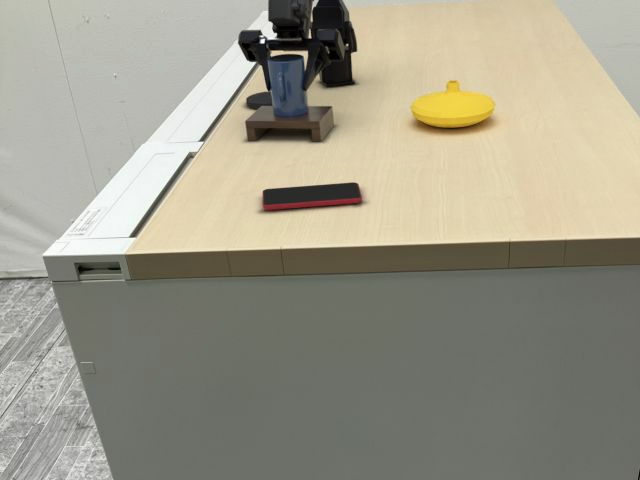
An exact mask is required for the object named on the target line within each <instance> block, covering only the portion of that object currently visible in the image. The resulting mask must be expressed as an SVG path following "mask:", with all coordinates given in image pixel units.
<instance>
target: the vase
mask: <svg viewBox="0 0 640 480" xmlns="http://www.w3.org/2000/svg"><path fill="white" fill-rule="evenodd" d="M495 107H496V103H495V101H494V100H493V99H492V97H490V96H489V95H487V94H484V93H481V92H476V91H469V90H460V80H456V79H453V80H447V81H446V90H441V91H437V92H432V93H427V94H424V95H421V96H420V97H417V98H416V99H414V101H413V102H412V104H411V105H410V112H411V113H412V114H411V115H412V117H414V118H415V120H418V121H420V122H422V123H424V124H426V125H429V126H432V127H436V128H464V127H469V126H472V125H476V124H479V123H480V122H482V121H484V120H486V119H487V118H489V117H490V116H492V115H493V113H494V111H495Z"/></svg>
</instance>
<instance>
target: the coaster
mask: <svg viewBox="0 0 640 480" xmlns="http://www.w3.org/2000/svg"><path fill="white" fill-rule="evenodd" d="M245 102H246V106H247V108H249V109H250V110H251V109H252V110H255V111H256V110H258V109H259V108H260V107H261V106H272V97H271V90H270V91H268V90H267V91H261V92H256V93H253V94H251V95H248V96H247V97H246V99H245Z"/></svg>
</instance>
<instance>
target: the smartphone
mask: <svg viewBox="0 0 640 480" xmlns="http://www.w3.org/2000/svg"><path fill="white" fill-rule="evenodd" d="M362 200H363V195H362V192H361V188H360V184H359V183H358V182H342V183H341V182H340V183H327V184H314V185H302V186H299V185H298V186H287V187H274V188H273V187H272V188H266V189H263V190H262V207H263V209H265V210H266V211H273V210H286V209H298V208H299V209H300V208H312V207H325V206H337V205H349V204H358V203H360V202H361V201H362Z"/></svg>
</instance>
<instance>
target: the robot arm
mask: <svg viewBox="0 0 640 480" xmlns="http://www.w3.org/2000/svg"><path fill="white" fill-rule="evenodd" d="M314 2H315V0H268V1H267V21H268V22H270V23H272V27H271V30H272V32H273V34H276V37H267V36H266V35H264V34H263V31H262V29H242V30H241V31H240V32H239V34H238V39H237V45H238V46H239V48H240V50H241V52H242V54H243V56H244V59H246V61H247V62H249V63H257V64H258V65H259V66H261V68H262V74H263V78H264V82H265V88H266V90H267V91H271V88H270V80H269V71H268V63H267V59H268V58H269V57H272V52H281V51H282V52H283V53H284V52H285V53H287V52H307V58H306V65H305V75H304V82H303V89H304V91H307V92H308V89H309V88H310V87H311V85H312V84H313V83H314V81H315V79H316V78H317V76H319V77H318V78H319V81H320V82H321V83H322V84H323V86H325V87H326V88H331V87H338V86H346V85H354V84H356V80H354V78H353V65H352V62H353V61H352V54H353V53H357V52H358V41H357V37H356V32H355V29H354V26H353V23H352V21H351V20H350V19H351V18H350V17H351V16H350V11H349V10H348V7H347V6H346V4H345V2H344V0H317V3H316V4H315V6H313V4H314Z"/></svg>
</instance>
